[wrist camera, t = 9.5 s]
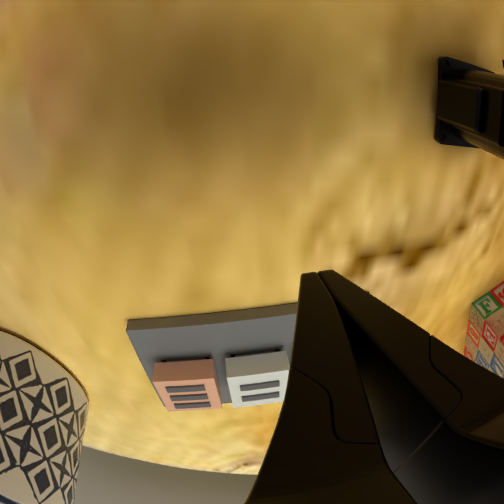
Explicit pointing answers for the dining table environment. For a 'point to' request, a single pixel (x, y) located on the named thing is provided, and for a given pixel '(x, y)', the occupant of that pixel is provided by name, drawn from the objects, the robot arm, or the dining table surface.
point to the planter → (38, 426)
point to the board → (213, 337)
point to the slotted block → (188, 384)
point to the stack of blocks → (487, 331)
